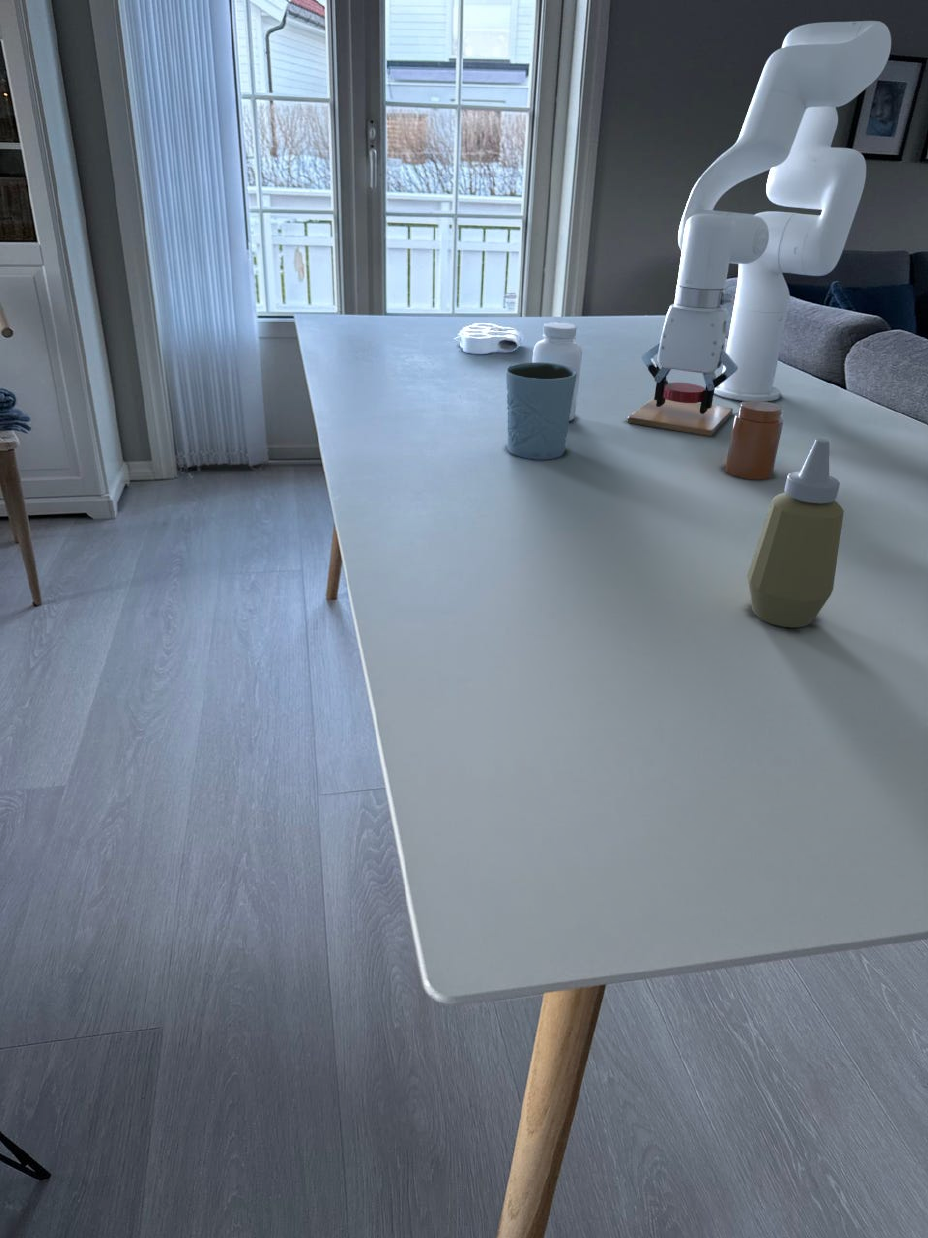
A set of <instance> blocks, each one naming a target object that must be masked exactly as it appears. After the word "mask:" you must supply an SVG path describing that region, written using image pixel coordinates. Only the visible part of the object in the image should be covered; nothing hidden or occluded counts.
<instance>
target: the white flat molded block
mask: <svg viewBox="0 0 928 1238" xmlns="http://www.w3.org/2000/svg"><path fill="white" fill-rule="evenodd" d="M457 335H458V336H457V337H454V338H453V340H455V341H456V342H457V343H459V346H460V348H461V349H462V351H463V352H464V353H465V354H466V353H467V354H472V355H485V354H491V353H512V352H514V351H517V350H518V349H519V346H520V344H521V342H522V340H523V339H524V333H523V332H522V331H520V330H519V329H517V328H513V327H506V326H499V325H497V324H494V323H487V322H485V323H484V322H479V323H473V324H471V325H468V326H467V325H466V326H464V327H462V329H461V330H460V332H459V333H457Z"/></svg>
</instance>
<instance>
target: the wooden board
mask: <svg viewBox="0 0 928 1238" xmlns="http://www.w3.org/2000/svg"><path fill="white" fill-rule="evenodd" d="M656 403H657V400H654V397H653V398H651V400H649V401H647V402H646V403H644V404H643V405H642V406H641V407H640V408H638V409H637V410H636V411H635V412H632V414H630V415H629V416H628V417H627V423H628V424H635V425H638V426H639V425H640V426H646V427H653V428H659V429H663V430H669V431H676V432H681V433H688V434H694V435H701V436H706V437H712V436H713V435H714V434H715V433H716V432H717V430H718V429H719V428H720V427H721V426H722V425H723V424H724V423H725V422H726V421H727V420H728V419H729V417H731V416H732V415H733V410H734V409H733V408H731V407H725V406H718V405H713V404H712V406H711V408H710V409H708V410H707V411H706V412H705V413H704V414H701V413H700V406H701V402H699V403H681V402H674V401H670V400H667V399H666V400H665V404H663V405H662V406H660V407H656Z"/></svg>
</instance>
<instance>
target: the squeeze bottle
mask: <svg viewBox="0 0 928 1238" xmlns="http://www.w3.org/2000/svg"><path fill="white" fill-rule="evenodd" d="M786 477H787V478H786V481H785V485H784V492H782V493H781V492H780V493H779V494H777V495H775V496H774V497H773V498H772V500H771V502H770V505H769V508H768V511H767V515H766V518H765V521H764V522H763V523H764V524H763V525H762V529H761V532H760V534H759V535H760V536H759V539H758V541H757V545H756V548H755V551H754V555H753V557H752V560H751V563H750V566H749V570H748V573H747V576H746V577H747V581H748V582H747V584H748V589H749V597H750V602H751V609H752V612H753V614H754V616H756V617H757V618H759V619H760V620H762V621H764V622H766V623H769V624H771V625H775V626H779V627H785V628H801V627H802V628H803V627H806V626H809V625H811V624H812V623H813V621H814V620H816V619H815V618H817V616H818V614H819V613H820V611H821V610H822V609H823V607H824V606H825V604H826V603H827V602H828V600H829V598H830V597H831V595H832V593H833V591H834V586H835V579H836V573H837V564H838V557H839V549H840V541H841V535H842V527H843V521H844V513H845V510H844V508H843V507H842V506H841V504H840V503H839V502H838V501H837V497H838V493H839V488H840V485H841V482H840V481H839V479H837V478H836V477H834V476H833V475H830V440H828V439H826V438H816V439H814V442H813V445H812V446H811V449H810V451H809V453H808V455H807V457H806V460H805V461H804V464H803V466H802V468H801V470H796V471H792V472H790V473H788V475H787V476H786Z"/></svg>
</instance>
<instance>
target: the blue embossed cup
mask: <svg viewBox="0 0 928 1238" xmlns="http://www.w3.org/2000/svg"><path fill="white" fill-rule="evenodd" d="M576 377H577V372H576V371H575V370H574V369H572V368H570V367H567V366H563V365H558V364H552V363H532V362H522V363H521V362H520V363H516V364H512V365H510V366H508V367H506V369H505V383H506V384H505V385H506V390H507V393H506V404H507V407H506V409H507V428H506V429H507V449H508V450H507V451H509V453H510V454H512V455H513V456H515V457H519V458H524V459H529V460H552V459H553V460H554V459H557V458H560V457H562V456H563V455H564V454H565V451H566V445H567V439H566V438H567V436H568V430H569V426H570V424H569V422H570V421H569V419H570V418H569V416H570V413H571V406H572V399H573V394H574V388H575V382H576Z"/></svg>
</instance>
